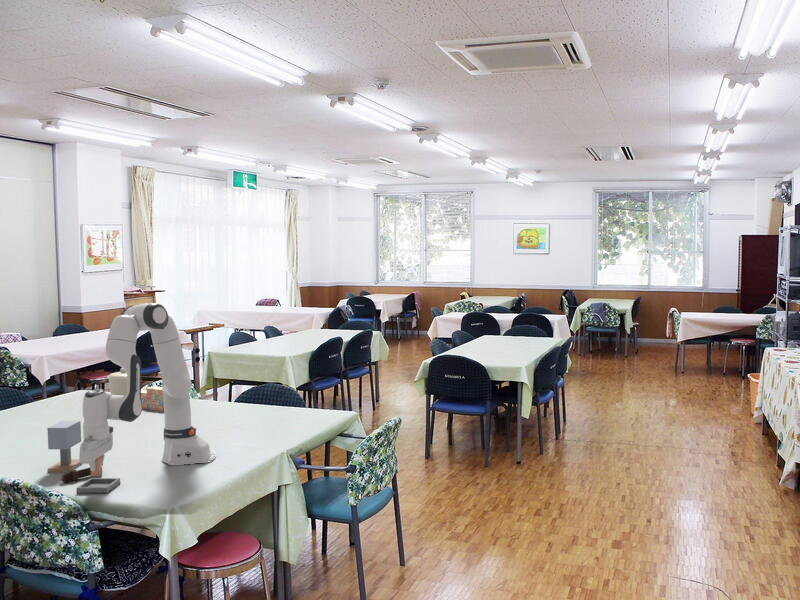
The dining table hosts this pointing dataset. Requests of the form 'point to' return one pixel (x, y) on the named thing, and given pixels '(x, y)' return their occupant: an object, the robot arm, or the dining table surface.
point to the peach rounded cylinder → (99, 467)
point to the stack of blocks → (152, 398)
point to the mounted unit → (64, 444)
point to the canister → (118, 382)
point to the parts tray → (98, 486)
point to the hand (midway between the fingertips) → (96, 468)
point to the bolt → (75, 475)
